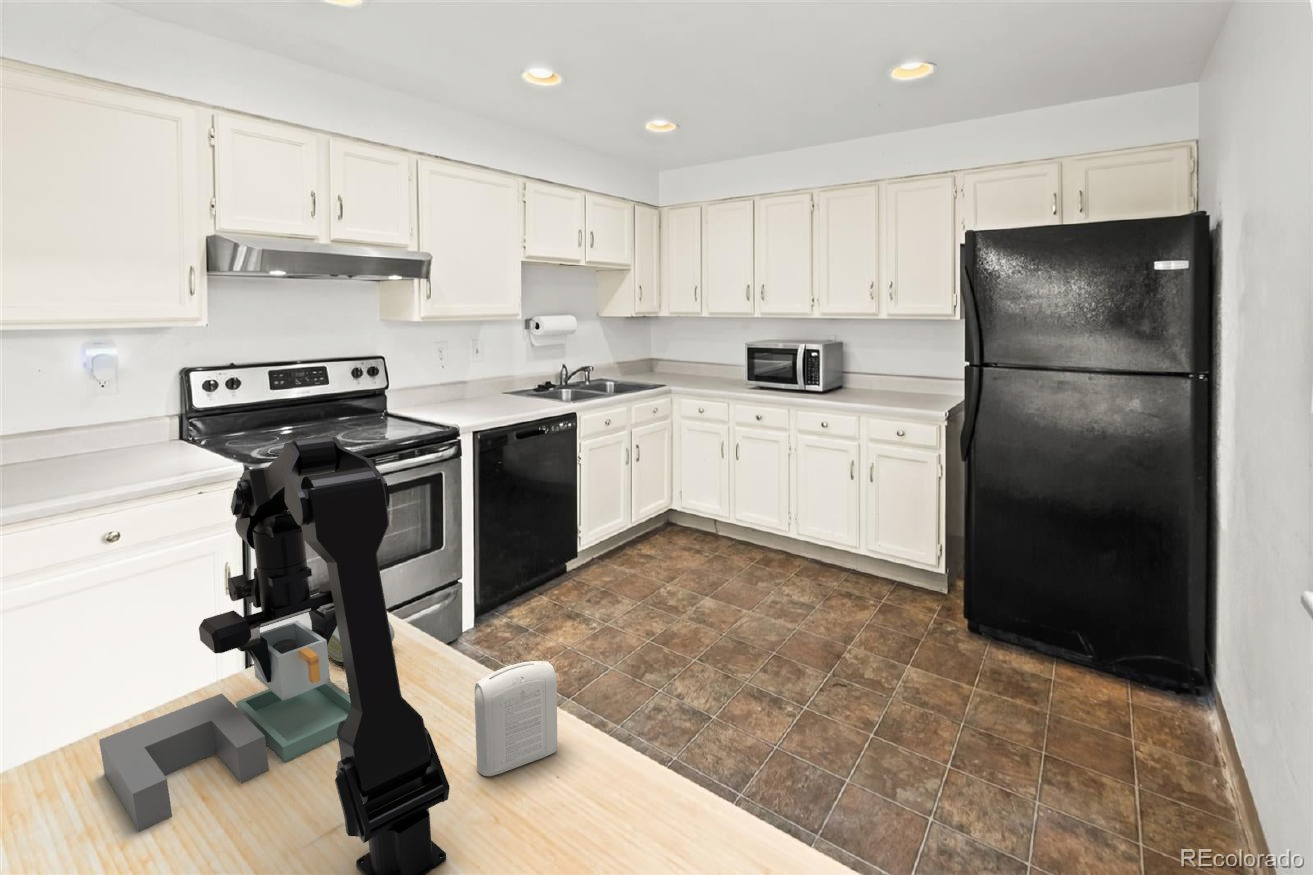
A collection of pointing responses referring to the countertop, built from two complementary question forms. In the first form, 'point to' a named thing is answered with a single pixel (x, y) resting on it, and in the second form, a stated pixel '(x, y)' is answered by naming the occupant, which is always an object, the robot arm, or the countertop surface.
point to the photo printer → (515, 716)
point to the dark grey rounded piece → (285, 646)
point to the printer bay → (178, 754)
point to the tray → (297, 718)
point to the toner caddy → (296, 661)
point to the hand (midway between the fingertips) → (293, 671)
